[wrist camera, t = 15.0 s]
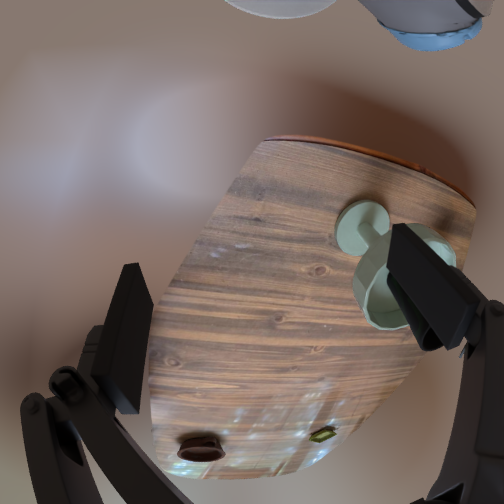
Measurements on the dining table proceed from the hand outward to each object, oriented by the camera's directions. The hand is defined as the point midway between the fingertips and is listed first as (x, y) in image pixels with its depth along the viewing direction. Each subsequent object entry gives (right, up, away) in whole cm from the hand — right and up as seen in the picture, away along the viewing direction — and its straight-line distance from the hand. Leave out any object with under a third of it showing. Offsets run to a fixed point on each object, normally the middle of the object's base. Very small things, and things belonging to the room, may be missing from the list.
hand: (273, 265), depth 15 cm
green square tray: (+26, -70, +87) cm, 115 cm away
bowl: (+19, +5, +39) cm, 43 cm away
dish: (-20, -70, +79) cm, 107 cm away
